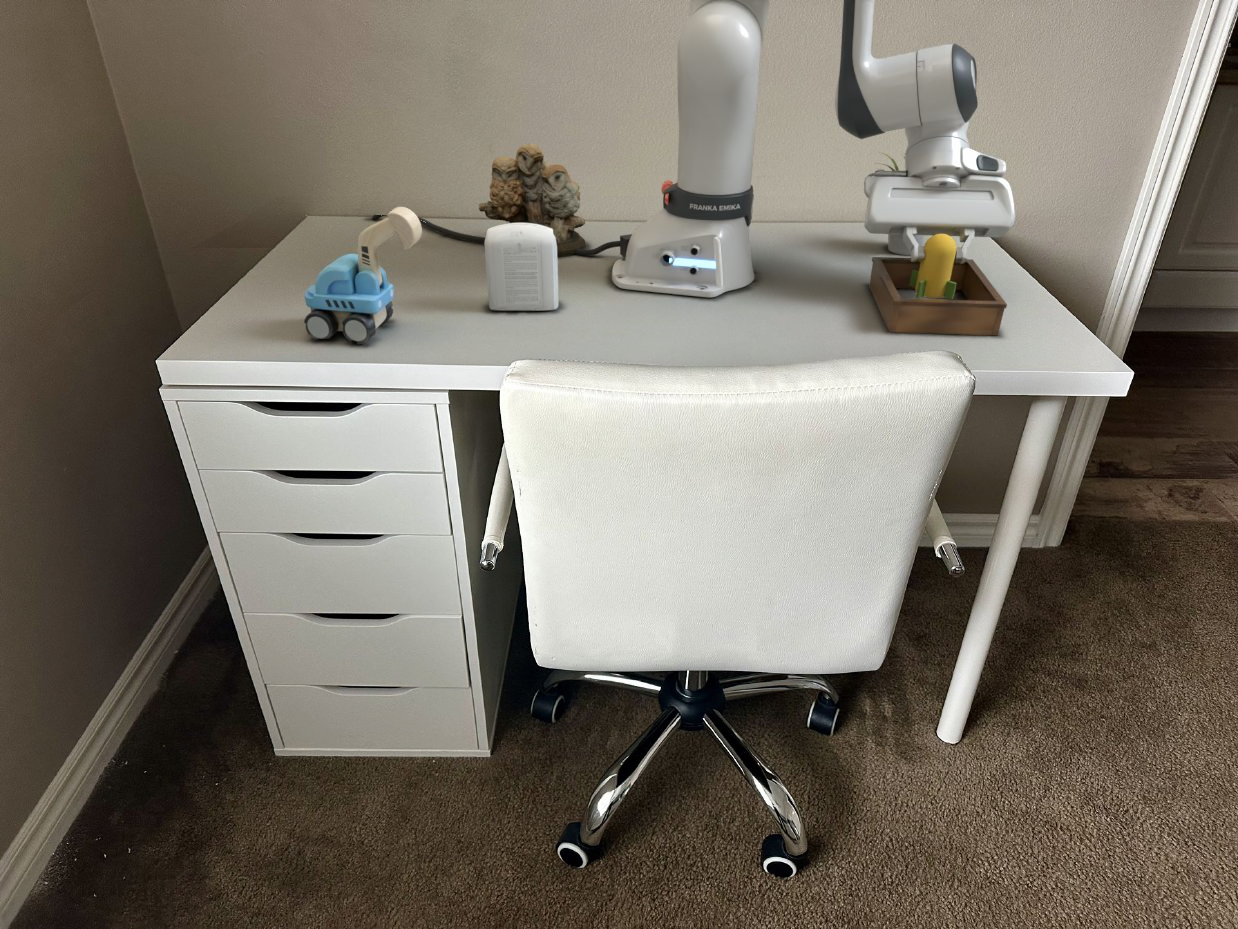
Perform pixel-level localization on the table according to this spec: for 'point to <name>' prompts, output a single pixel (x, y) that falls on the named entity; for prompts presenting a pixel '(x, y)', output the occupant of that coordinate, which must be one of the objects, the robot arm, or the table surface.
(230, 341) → the table surface
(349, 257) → the toy excavator
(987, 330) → the wooden box
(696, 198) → the robot arm
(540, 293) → the white rounded block
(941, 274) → the corn plush toy
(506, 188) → the owl figurine
